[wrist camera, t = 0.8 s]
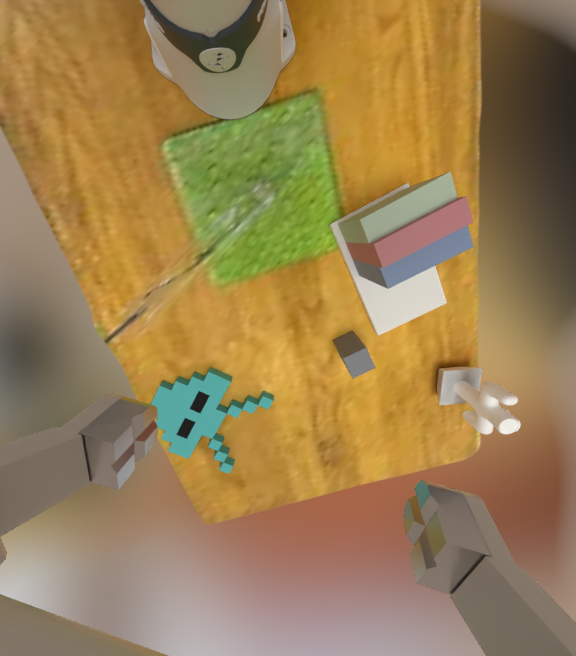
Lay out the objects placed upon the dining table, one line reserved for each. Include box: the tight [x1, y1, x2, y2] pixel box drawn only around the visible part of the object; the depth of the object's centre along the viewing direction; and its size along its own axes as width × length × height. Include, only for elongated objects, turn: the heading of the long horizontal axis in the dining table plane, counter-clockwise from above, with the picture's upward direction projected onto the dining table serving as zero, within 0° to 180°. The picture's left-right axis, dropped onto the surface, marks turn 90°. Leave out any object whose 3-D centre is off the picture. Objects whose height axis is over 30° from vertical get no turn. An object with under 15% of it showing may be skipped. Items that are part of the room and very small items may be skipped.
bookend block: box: [333, 331, 375, 378], centre depth 47 cm, size 4×4×8 cm
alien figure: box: [151, 368, 274, 474], centre depth 53 cm, size 20×2×20 cm
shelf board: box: [329, 172, 473, 336], centre depth 39 cm, size 21×13×14 cm, turn 27°
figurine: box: [437, 367, 520, 434], centre depth 46 cm, size 7×9×15 cm
